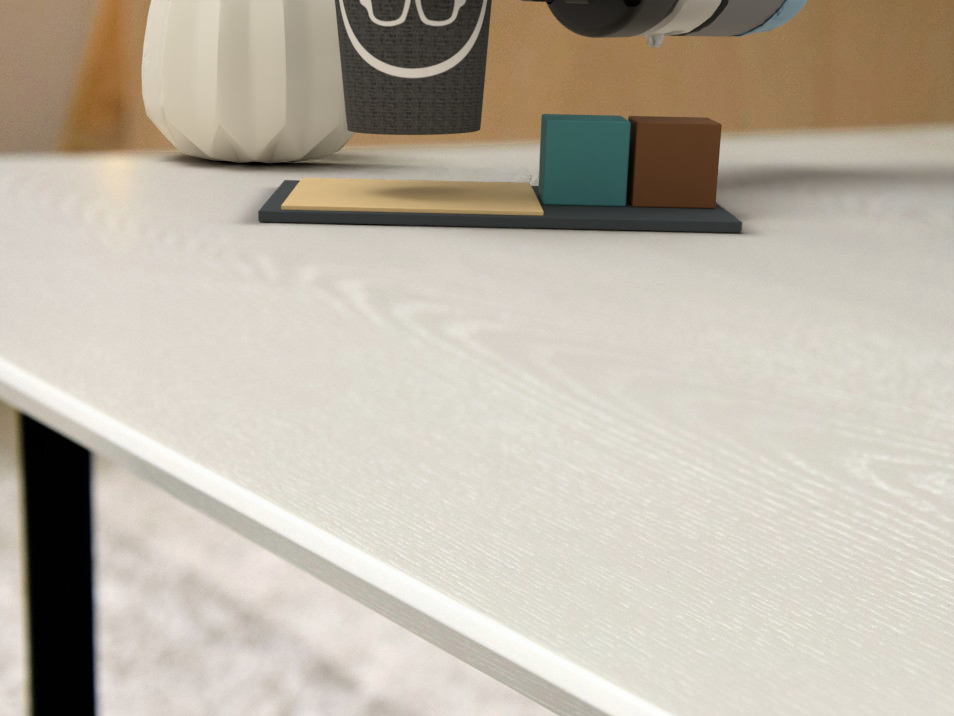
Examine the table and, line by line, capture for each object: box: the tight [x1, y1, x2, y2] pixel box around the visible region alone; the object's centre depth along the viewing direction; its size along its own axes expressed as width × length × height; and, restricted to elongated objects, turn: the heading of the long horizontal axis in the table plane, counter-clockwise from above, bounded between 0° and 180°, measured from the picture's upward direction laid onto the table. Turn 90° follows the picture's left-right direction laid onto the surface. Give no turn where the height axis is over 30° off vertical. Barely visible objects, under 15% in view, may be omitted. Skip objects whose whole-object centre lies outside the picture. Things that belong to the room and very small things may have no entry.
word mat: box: [257, 113, 743, 234], centre depth 80 cm, size 22×13×4 cm, turn 89°
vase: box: [140, 0, 357, 164], centre depth 100 cm, size 14×14×13 cm
